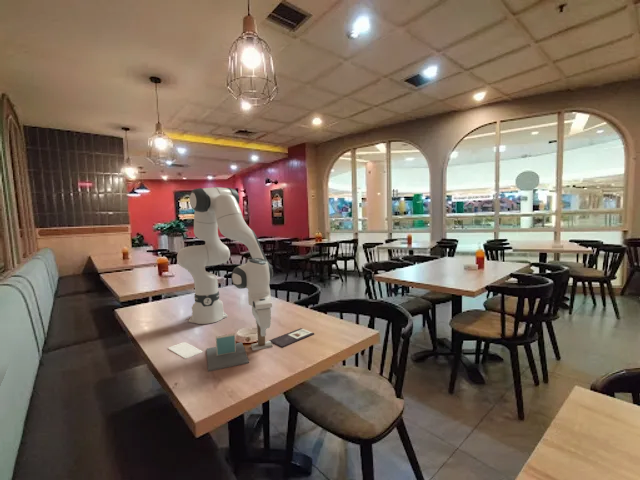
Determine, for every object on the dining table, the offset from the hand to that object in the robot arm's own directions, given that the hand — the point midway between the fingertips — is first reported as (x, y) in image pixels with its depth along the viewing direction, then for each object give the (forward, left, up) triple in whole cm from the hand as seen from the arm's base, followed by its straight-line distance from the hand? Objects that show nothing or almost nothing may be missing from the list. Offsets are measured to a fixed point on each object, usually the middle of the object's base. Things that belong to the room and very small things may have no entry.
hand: (261, 331), depth 123 cm
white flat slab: (-10, -29, -7) cm, 31 cm away
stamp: (0, 0, -6) cm, 6 cm away
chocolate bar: (-3, +14, -7) cm, 16 cm away
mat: (+2, -14, -6) cm, 16 cm away
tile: (+1, -14, -2) cm, 14 cm away
